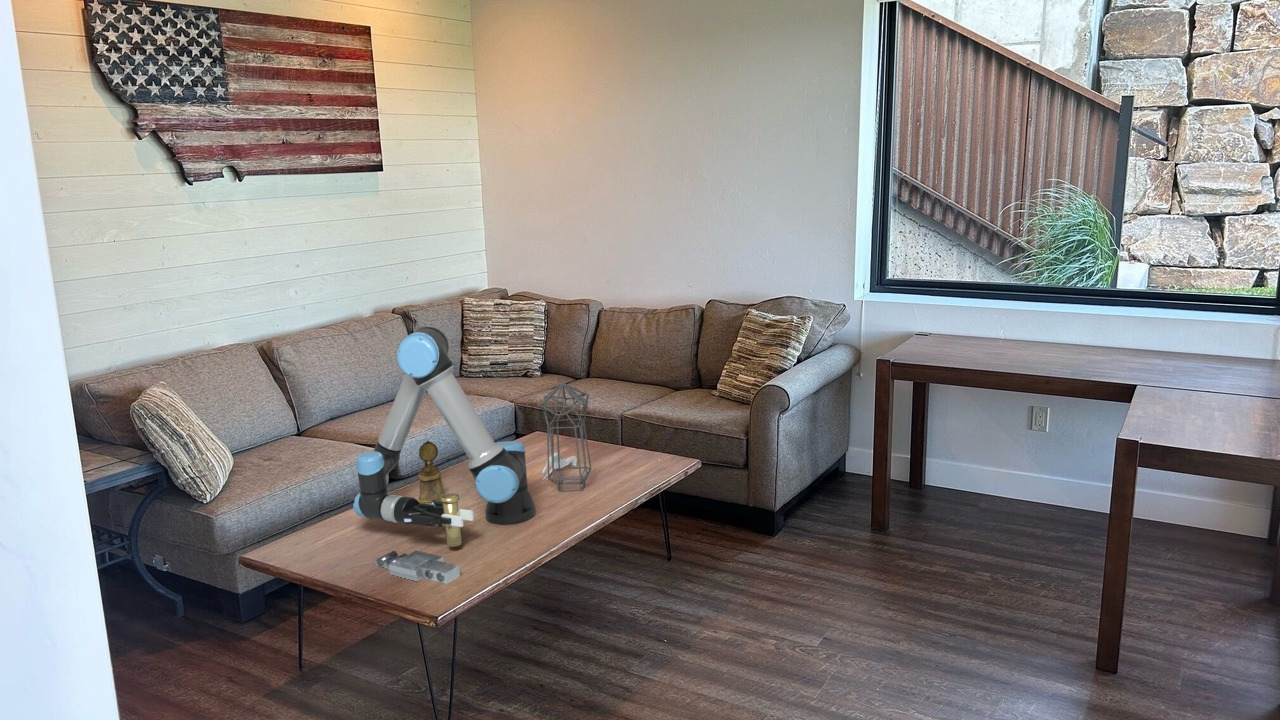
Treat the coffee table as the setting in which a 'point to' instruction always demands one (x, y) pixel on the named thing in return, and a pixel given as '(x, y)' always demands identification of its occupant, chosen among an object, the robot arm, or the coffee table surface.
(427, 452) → the brass bell
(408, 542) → the coffee table surface
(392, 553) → the grey link plate
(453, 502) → the pin
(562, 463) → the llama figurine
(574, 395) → the geometric lantern
